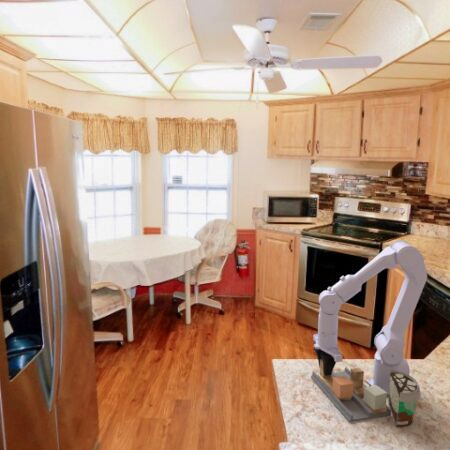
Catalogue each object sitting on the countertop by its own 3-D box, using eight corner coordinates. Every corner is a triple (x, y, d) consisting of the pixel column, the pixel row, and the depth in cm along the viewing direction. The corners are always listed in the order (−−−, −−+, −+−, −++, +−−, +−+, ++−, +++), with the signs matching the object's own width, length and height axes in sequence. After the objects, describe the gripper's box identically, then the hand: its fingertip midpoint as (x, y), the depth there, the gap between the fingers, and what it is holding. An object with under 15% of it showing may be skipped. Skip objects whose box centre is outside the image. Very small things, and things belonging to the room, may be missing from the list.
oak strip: (329, 376, 119) (330, 357, 118) (351, 399, 107) (352, 378, 106) (317, 377, 118) (318, 359, 117) (337, 401, 106) (338, 380, 105)
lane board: (346, 372, 122) (346, 367, 122) (391, 415, 101) (391, 409, 101) (310, 377, 120) (311, 371, 119) (348, 422, 98) (349, 415, 98)
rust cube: (345, 388, 110) (345, 375, 110) (352, 396, 106) (353, 383, 106) (332, 390, 109) (333, 377, 109) (339, 398, 105) (340, 385, 105)
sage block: (374, 398, 106) (375, 384, 105) (385, 406, 102) (386, 392, 101) (363, 401, 104) (364, 387, 104) (374, 410, 101) (375, 395, 100)
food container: (424, 434, 94) (427, 397, 93) (397, 430, 95) (400, 393, 94) (410, 404, 106) (413, 370, 105) (387, 401, 107) (389, 368, 106)
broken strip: (360, 386, 113) (361, 367, 112) (386, 412, 102) (388, 390, 101) (347, 388, 112) (348, 368, 111) (372, 414, 101) (374, 392, 100)
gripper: (305, 322, 121) (303, 362, 123) (327, 342, 107) (325, 387, 109) (325, 320, 123) (323, 360, 125) (349, 340, 109) (347, 384, 111)
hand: (325, 372), depth 117 cm, fingers closed on oak strip, 2 cm apart
